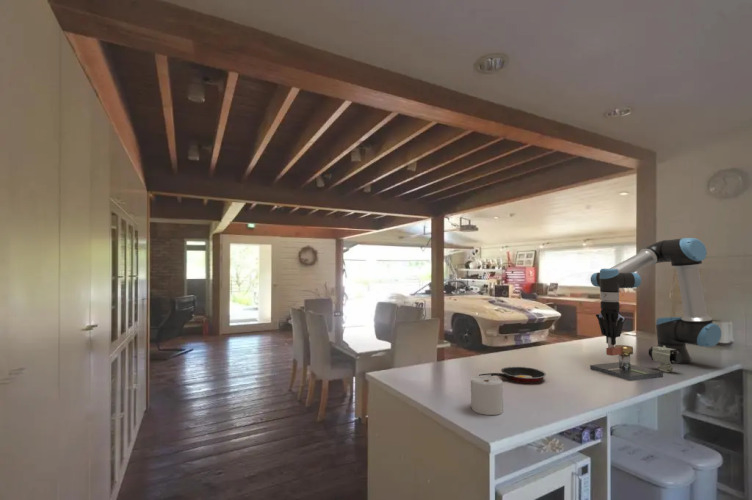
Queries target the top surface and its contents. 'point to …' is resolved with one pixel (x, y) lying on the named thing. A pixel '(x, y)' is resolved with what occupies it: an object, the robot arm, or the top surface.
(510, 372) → the frying pan
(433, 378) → the top surface
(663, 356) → the pneumatic valve
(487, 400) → the toilet tissue
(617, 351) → the scoop with pink handle
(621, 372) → the grey plate with post
